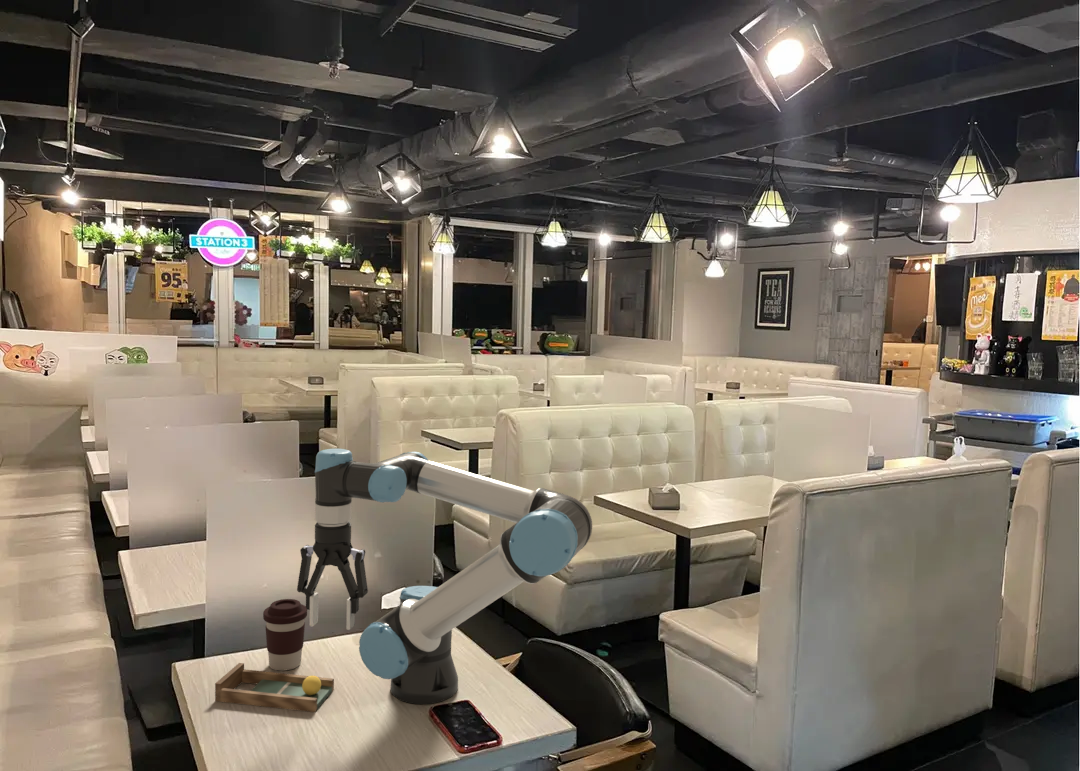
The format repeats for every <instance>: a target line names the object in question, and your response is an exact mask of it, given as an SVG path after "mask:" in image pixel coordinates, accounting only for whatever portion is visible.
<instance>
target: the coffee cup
mask: <svg viewBox="0 0 1080 771" xmlns="http://www.w3.org/2000/svg"><path fill="white" fill-rule="evenodd" d="M262 614H263V617H262V618H263V620H264V622H265V623H266V625H265V638H266V651H267V654H268V665H269V667H270V668H271V669H272V670H274V671H279V672H280V671H282V672H283V671H290V670H294V669H296V668H297V667H299V666H300V664H301V663H302V651H303V648H304V641H305V629H306V622H305V619H306V618H307V616H308V610H307V609H306V605H304V604H302V603H301V601H299V600H298V599H294V598H283V599H278V600H274V601H273V602H272V603H271V604H270V605H269V606H268V607H266V608H265V609H264V610H263V613H262Z"/></svg>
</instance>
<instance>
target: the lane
mask: <svg viewBox="0 0 1080 771" xmlns="http://www.w3.org/2000/svg"><path fill="white" fill-rule="evenodd" d="M308 676H309V675H302V674H294V673H293V674H291V673H284V672H283V673H282V672H275V671H274V672H273V671H265V670H263V671H262V670H256V669H255V670H254V669H253V670H252V669H246V668H245V663H243V662H238V663H237V664H236V665H235V666H234V667H232V669H230V670H229V671H228V672H226V674H224V675H223V676H222V677H221V678H219V679H218V680H217V681H216V682H215V684H214V689H215V690H214V691H215V692H214V694H215V695H214V696H215V698H214V701H215V702H221V703H226V704H227V703H228V704H229V703H230V704H238V705H248V706H257V707H265V708H273V709H283V710H291V711H301V712H310V713H316V712H317V710H318V709H319V708H320V707H321V705H323V703H324V702H325V701H326V699H328V697H329V696H330V695H331V694H332V693H333V691H335V688H334V687H335V678H330V677H320V676H317V677H318V678H319V679H320V681H321V688H320V690H319V691H318V692H317V693H316V694H314V695H307V694H306V693H305V692H304V691H303V689H302V684H303V681H304V680H305V679H306V678H307V677H308ZM242 683H246V684H256V685H255V686H253V687H252V689H251V690H245V689H244V690H243V689H236V688H237V687H238V686H239V685H241V684H242Z"/></svg>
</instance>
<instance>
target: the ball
mask: <svg viewBox="0 0 1080 771" xmlns="http://www.w3.org/2000/svg"><path fill="white" fill-rule="evenodd" d="M307 676H308V677H307V678H306V679H305V680H304V681H303V684H302V689H303V691H304V692H305V693H306V694H307V695H314V694H316V693H317V692H318V691H319V690H320V688H321V681H320V679H319V678H318V677H319V676H316V675H307Z"/></svg>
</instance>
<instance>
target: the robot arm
mask: <svg viewBox="0 0 1080 771" xmlns="http://www.w3.org/2000/svg"><path fill="white" fill-rule="evenodd" d="M314 468H315V470H314V482H315V483H314V484H315V499H314V500H315V502H314V521H315V522H316V523H315V524H314V544H313V545H309V544H306V545H303V547H301V548H300V557H301V561H300V568H299V573H298V579H297V580H298V581H297V588H296V591H297V592H298V593H301V594H304V595H305V606H306V609H307V611H308V610H309V627H314V626H315V625H316V624H317V623H318V622H319V592H316V590H317V586H318V584H319V582H320V579H321V577H322V575H323V572H324V571H325V568H326V566H327V567H328V566H333V567H337V570H338V571H339V572H340V574H341V576H342V577H341V578H342V579H343V580H342V581H343V582H344V585H345V588H346V590H347V593H348V596H349V597H348V598H347V599H346V624H345V625H346V627H345V629H346V631H347V630H348V631H351V630H352V628H353V627H354V626H355V624H356V623H355V619H356V618H355V616H356V614H357V613H358V612H359V610H360V609H359V607H360V599H362V598H364V597H365V596H366V595H367V594H368V592H369V589H368V581H367V575H366V566H365V561H364V560H365V555H366V550H365V549H364V548H362V549H356V548H354V547H353V545H352V523H351V520H352V501H353V500H352V499H353V498H354V499H360V500H367V501H375V502H379V503H397V502H398V501H400V500H401V498H402V496H404V494H405V492H406V490H408V491H411V492H414V493H417V494H421V495H423V496H427V497H431V498H434V499H438V500H440V501H444V502H447V503H450V504H453V505H456V506H460V507H463V508H466V509H470V510H473V511H476V512H478V513H482V514H485V515H488V516H492V517H495V518H498V519H501V520H505V521H508V522H512V523H515V524H513V525H511V527H509V528H507V529H506V530H505V531H503V532H502V533H501V534H500V538H499V544H498V545H497V546H495V547H494V548H493V549H490V550H489V551H488V552H487V553H485V554H483V555H482V556H481V557H479V558H478V559H476V560H475V561H473V562H472V563H471V564H469V565H467V567H465V568H463V569H462V570H461V571H459V572H458V573H456V574H455V575H454V576H452V577H451V578H449V579H447V581H445V582H443V583H442V584H441V585H439V586H431V585H413V586H407V587H405V588H403V589H402V590H401V591H400V594H399V602H400V603H399V604H398V605H397V606H396V607H394V608H393V609H391V610H390V611H388V613H386V614H385V615H383V616H382V617H380V618H379V619H377V620H375V621H374V622H371V623H370V624H368V625H367V627H366V628H365V629H364V630H363V631H362V632H361V635H360V638H359V641H358V643H359V647H358V649H359V650H358V651H359V655H360V658H361V661H362V662H363V664H364V666H365V667H366V668H367V670H368V671H369V672H371V674H373V675H374V676H376V677H379V678H380V679H383V680H390V692H391V694H392V696H393V697H395V698H396V699H397V700H399V701H402V702H404V703H405V702H406V703H409V704H415V705H429V704H434V703H436V704H437V703H439V702H443V701H445V700H448V699H450V698H452V697H453V696H454V695H455V694H456V692H457V691H458V689H459V676H458V673H457V669H456V666H455V663H454V659H453V656H452V636H453V635H452V633H453V632H452V631H453V629H455V628H457V627H458V626H459V625H461V624H462V623H465V622H466V621H467V620H468V619H470V618H471V617H473V616H474V615H476V614H478V613H479V612H480V611H482V610H483V609H485V608H486V607H488V606H490V605H491V604H492V603H494V602H495V601H497V600H498V599H500V598H502V597H503V596H504V595H506V594H507V593H509V592H510V591H512V590H513V589H514V588H517V587H518V586H519V585H521V584H523V583H526V584H529V585H534V584H537V583H539V582H540V581H541V580H543V579H545V578H546V577H549V576H551V575H554V574H556V573H558V572H560V571H561V570H562V569H564V568H566V567H567V566H568V564H569V563H570V562H571V561H572V560H573V559H574V557H576V555H577V554H578V553H579V552H580V551H581V550H582V549H583V548H585V546H586V545H587V544H588V542H589V541H590V538H591V536H592V532H593V520H592V516H591V513H590V512H589V510H588V509H587V507H586V505H585V504H583V503H582V502H581V501H580V500H578V499H577V498H575V497H573V496H571V495H568V494H564V493H561V492H558V491H554V490H550V489H547V488H544V487H538V488H537V489H534V490H533V489H530V488H525V487H522V486H520V485H519V486H518V485H515V484H513V483H512V484H511V483H509V482H505V481H502V480H498V479H495V478H494V479H493V478H491V477H487V476H484V475H481V474H476V473H473V472H471V471H466V470H463V469H459V468H455V467H453V466H450V465H446V464H445V465H444V464H442V463H439V462H435V461H432V460H429V458H428V457H426V456H425V455H424V454H423V453H422V452H418V451H408V452H403V453H400V454H398V455H396V456H393V457H390V458H387V459H384V460H381V461H377V462H374V463H373V462H371V463H370V462H360V461H354V458H353V453H352V451H351V450H348V449H345V448H328V449H327V448H326V449H322V450H320V451H318V452H317V454H316V456H315V467H314ZM313 554H314V555H316V557H317V558H318V560H317V562H316V564H315V568H314V570H313V573H312V574H311V578H310V570H311V566H312V565H311V563H312V556H313ZM350 556H352V560H353V561H354V562H353V563H354V573H355V577H356V578H355V577H354V574H353V572H352V569H351V564H350V560H349V557H350ZM309 578H310V580H309ZM355 579H356V580H355Z"/></svg>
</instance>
